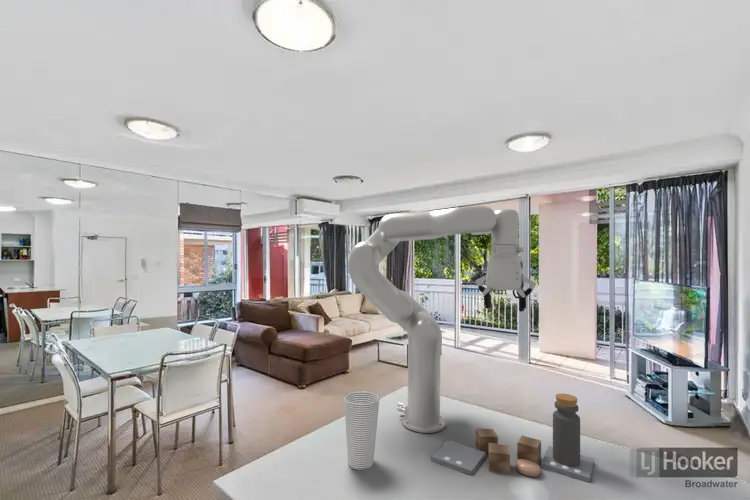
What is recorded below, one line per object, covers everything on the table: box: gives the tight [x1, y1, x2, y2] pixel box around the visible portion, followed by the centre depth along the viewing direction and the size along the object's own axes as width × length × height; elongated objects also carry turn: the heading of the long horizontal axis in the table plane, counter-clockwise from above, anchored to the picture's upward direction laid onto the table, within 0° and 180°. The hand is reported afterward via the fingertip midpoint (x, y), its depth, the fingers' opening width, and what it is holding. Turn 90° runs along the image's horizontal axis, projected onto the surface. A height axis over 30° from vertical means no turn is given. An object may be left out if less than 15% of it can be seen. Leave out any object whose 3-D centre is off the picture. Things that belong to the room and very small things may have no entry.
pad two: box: [430, 440, 487, 476], centre depth 90 cm, size 10×10×1 cm
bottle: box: [552, 393, 581, 467], centre depth 88 cm, size 6×6×15 cm
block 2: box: [487, 443, 511, 475], centre depth 86 cm, size 4×4×4 cm
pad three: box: [540, 445, 595, 483], centre depth 88 cm, size 10×10×1 cm
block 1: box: [474, 427, 499, 456], centre depth 94 cm, size 4×4×4 cm
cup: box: [343, 390, 380, 471], centre depth 87 cm, size 8×8×16 cm
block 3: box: [516, 435, 542, 465], centre depth 90 cm, size 4×4×4 cm
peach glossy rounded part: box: [515, 459, 541, 478], centre depth 84 cm, size 5×5×2 cm
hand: (504, 309), depth 108 cm, fingers open, 9 cm apart
